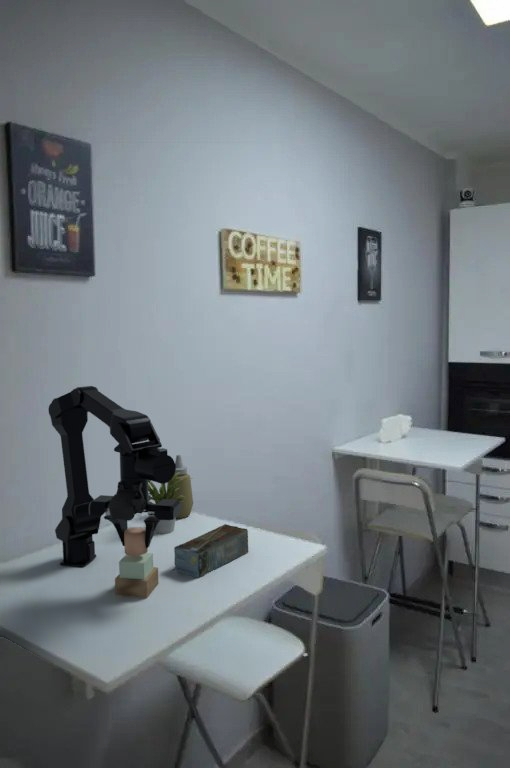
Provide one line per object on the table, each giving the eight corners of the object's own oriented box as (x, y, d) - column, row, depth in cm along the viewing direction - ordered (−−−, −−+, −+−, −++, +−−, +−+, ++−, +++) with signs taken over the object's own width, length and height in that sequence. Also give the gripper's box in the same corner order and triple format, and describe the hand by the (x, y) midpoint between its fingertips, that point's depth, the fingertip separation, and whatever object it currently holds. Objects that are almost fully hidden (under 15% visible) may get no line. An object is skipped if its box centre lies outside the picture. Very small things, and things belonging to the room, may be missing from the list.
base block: (115, 596, 130) (114, 578, 129) (128, 582, 136) (127, 565, 136) (147, 599, 128) (146, 581, 128) (158, 585, 135) (158, 567, 135)
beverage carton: (172, 571, 142) (172, 543, 142) (225, 546, 158) (225, 521, 157) (198, 579, 138) (198, 551, 137) (250, 553, 153) (250, 527, 152)
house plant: (196, 520, 177) (195, 464, 175) (194, 537, 163) (193, 477, 161) (145, 521, 176) (144, 465, 174) (139, 539, 162) (138, 478, 160)
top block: (119, 577, 130) (118, 561, 129) (129, 567, 135) (128, 551, 135) (144, 579, 129) (144, 563, 128) (153, 568, 134) (152, 553, 134)
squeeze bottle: (160, 515, 181) (158, 455, 179) (182, 509, 187) (181, 451, 185) (177, 522, 176) (175, 460, 174) (199, 515, 181) (198, 455, 179)
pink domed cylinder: (120, 554, 129) (120, 534, 129) (130, 546, 134) (129, 526, 133) (142, 556, 128) (142, 535, 128) (150, 548, 133) (150, 527, 132)
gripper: (74, 482, 123) (77, 557, 125) (163, 487, 120) (164, 565, 121) (99, 469, 134) (101, 538, 136) (181, 473, 130) (182, 544, 132)
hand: (136, 546), depth 131 cm, fingers closed on pink domed cylinder, 5 cm apart
